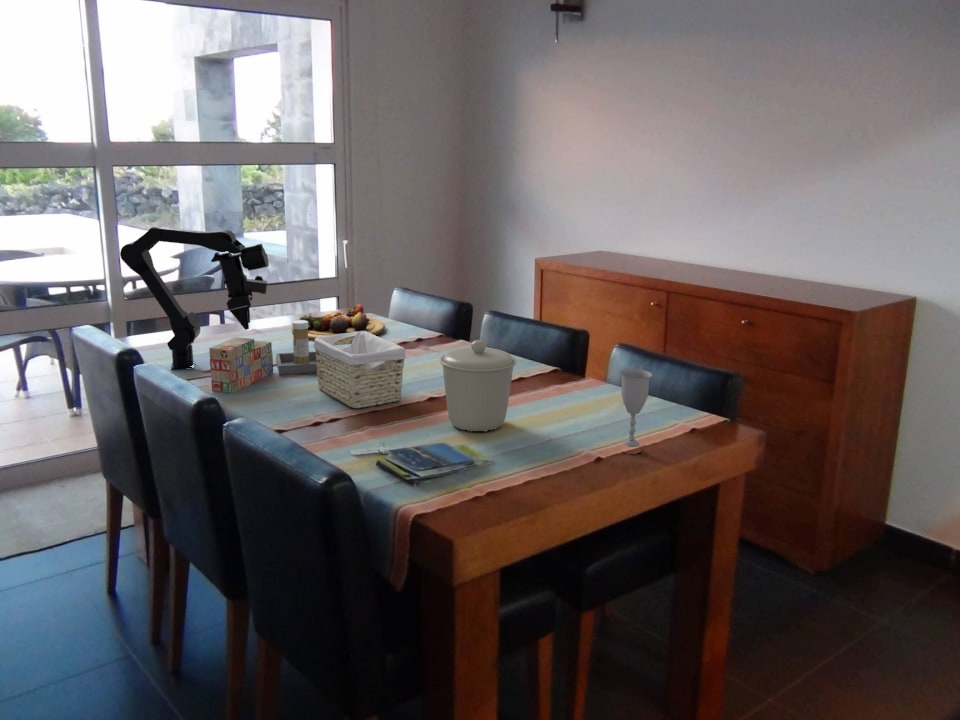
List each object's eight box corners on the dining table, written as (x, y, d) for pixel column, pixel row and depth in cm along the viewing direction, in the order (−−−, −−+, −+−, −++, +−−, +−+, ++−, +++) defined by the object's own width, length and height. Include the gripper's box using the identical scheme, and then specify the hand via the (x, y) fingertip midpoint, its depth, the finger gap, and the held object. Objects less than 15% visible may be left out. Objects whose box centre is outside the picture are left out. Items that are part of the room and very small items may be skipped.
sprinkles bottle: (294, 363, 251) (293, 319, 247) (310, 363, 252) (309, 319, 248) (292, 368, 247) (291, 323, 243) (308, 368, 247) (307, 323, 244)
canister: (442, 412, 213) (442, 330, 208) (514, 414, 213) (516, 332, 207) (436, 437, 196) (436, 349, 190) (514, 439, 195) (517, 351, 190)
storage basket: (312, 388, 230) (310, 335, 227) (366, 379, 239) (365, 329, 235) (351, 413, 211) (350, 356, 208) (408, 402, 220) (408, 347, 216)
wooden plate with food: (340, 317, 317) (339, 296, 314) (403, 330, 298) (403, 307, 296) (272, 334, 292) (271, 311, 290) (336, 349, 274) (335, 324, 271)
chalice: (611, 444, 193) (616, 368, 188) (641, 444, 194) (646, 368, 189) (619, 456, 186) (624, 378, 181) (649, 456, 187) (656, 378, 182)
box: (276, 363, 254) (276, 353, 253) (323, 360, 258) (323, 351, 257) (279, 376, 241) (278, 365, 240) (328, 373, 245) (328, 363, 244)
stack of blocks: (254, 370, 246) (252, 329, 243) (273, 373, 244) (271, 331, 241) (211, 391, 226) (208, 346, 223) (232, 394, 225) (229, 349, 221)
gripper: (260, 272, 234) (274, 325, 239) (262, 263, 252) (275, 313, 256) (220, 281, 233) (235, 335, 237) (224, 272, 250) (238, 322, 255)
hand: (247, 326), depth 246 cm, fingers open, 9 cm apart
